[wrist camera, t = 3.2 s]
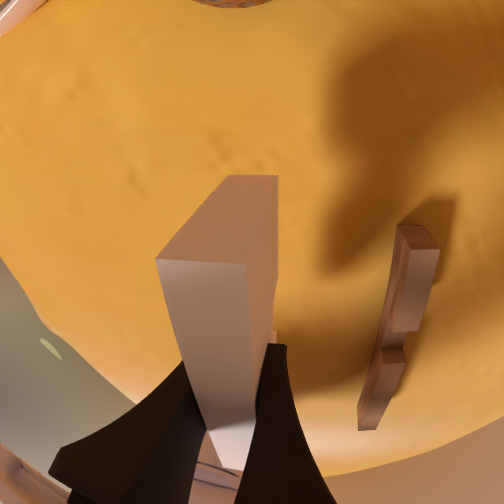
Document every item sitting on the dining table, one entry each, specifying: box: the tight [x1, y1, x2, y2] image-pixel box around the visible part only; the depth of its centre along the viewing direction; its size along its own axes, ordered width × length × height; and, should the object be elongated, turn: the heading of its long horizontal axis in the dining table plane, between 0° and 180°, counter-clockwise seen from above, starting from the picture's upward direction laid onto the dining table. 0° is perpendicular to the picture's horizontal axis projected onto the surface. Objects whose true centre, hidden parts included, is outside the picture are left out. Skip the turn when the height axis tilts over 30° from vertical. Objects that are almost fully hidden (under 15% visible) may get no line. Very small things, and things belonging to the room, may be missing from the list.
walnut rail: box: [357, 225, 440, 431], centre depth 19 cm, size 20×2×3 cm, turn 6°
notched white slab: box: [155, 175, 278, 471], centre depth 11 cm, size 12×2×6 cm, turn 2°
